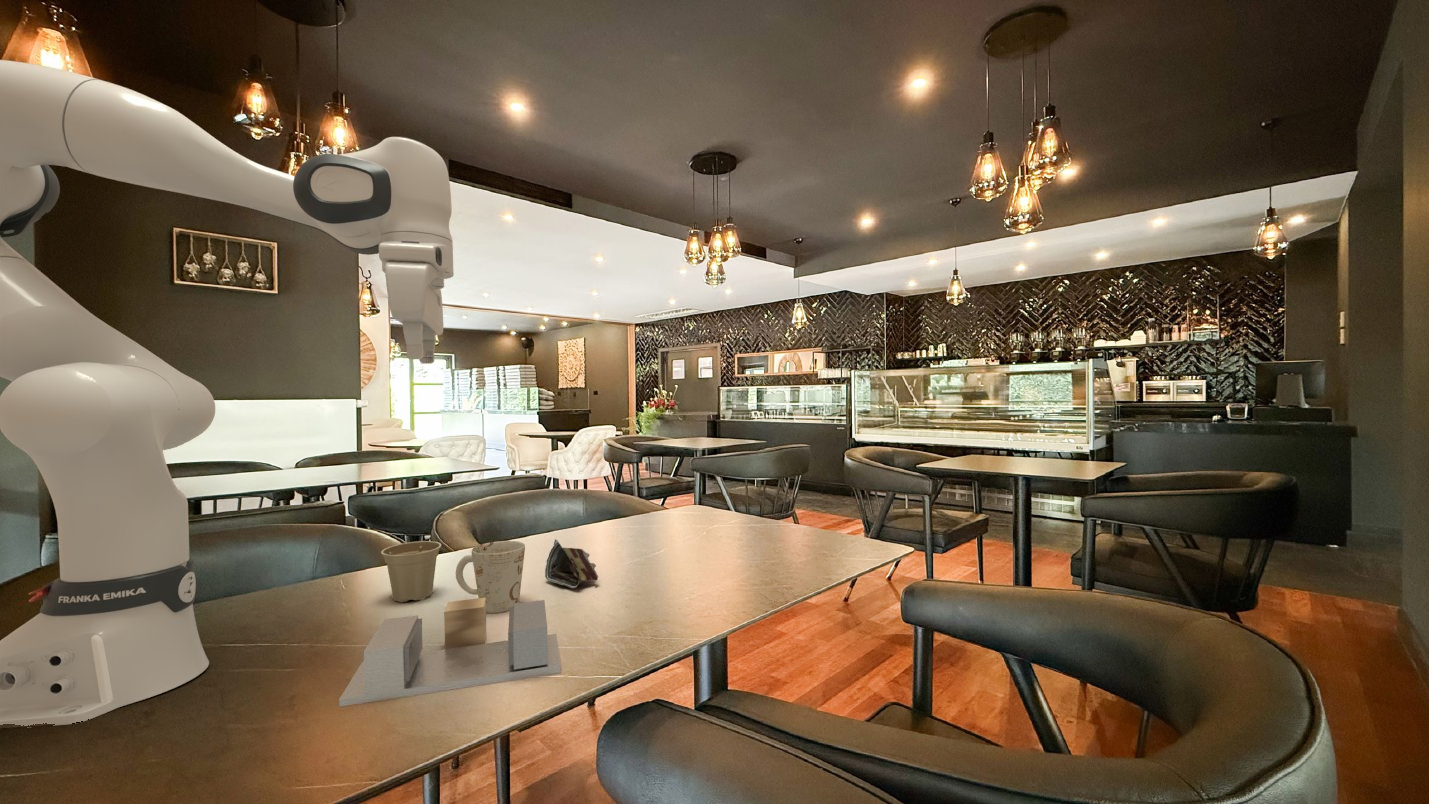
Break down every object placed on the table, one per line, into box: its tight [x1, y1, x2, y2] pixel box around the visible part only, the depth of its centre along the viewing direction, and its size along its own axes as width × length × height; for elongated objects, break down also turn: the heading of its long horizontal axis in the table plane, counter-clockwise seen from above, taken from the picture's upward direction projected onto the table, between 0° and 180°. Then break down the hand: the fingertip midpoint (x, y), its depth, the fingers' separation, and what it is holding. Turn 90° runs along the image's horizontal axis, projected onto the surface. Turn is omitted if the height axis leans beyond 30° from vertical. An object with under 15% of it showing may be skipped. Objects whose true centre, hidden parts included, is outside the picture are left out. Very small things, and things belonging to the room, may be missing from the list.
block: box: [443, 597, 487, 650], centre depth 80 cm, size 5×4×6 cm
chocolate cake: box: [544, 538, 599, 589], centre depth 109 cm, size 10×7×12 cm
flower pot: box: [380, 540, 442, 603], centre depth 101 cm, size 9×9×9 cm
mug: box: [455, 540, 526, 614], centre depth 96 cm, size 8×13×10 cm, turn 78°
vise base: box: [338, 615, 562, 707], centre depth 73 cm, size 24×10×6 cm, turn 108°
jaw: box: [507, 599, 548, 669], centre depth 75 cm, size 5×10×5 cm, turn 18°
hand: (421, 361), depth 80 cm, fingers open, 8 cm apart
